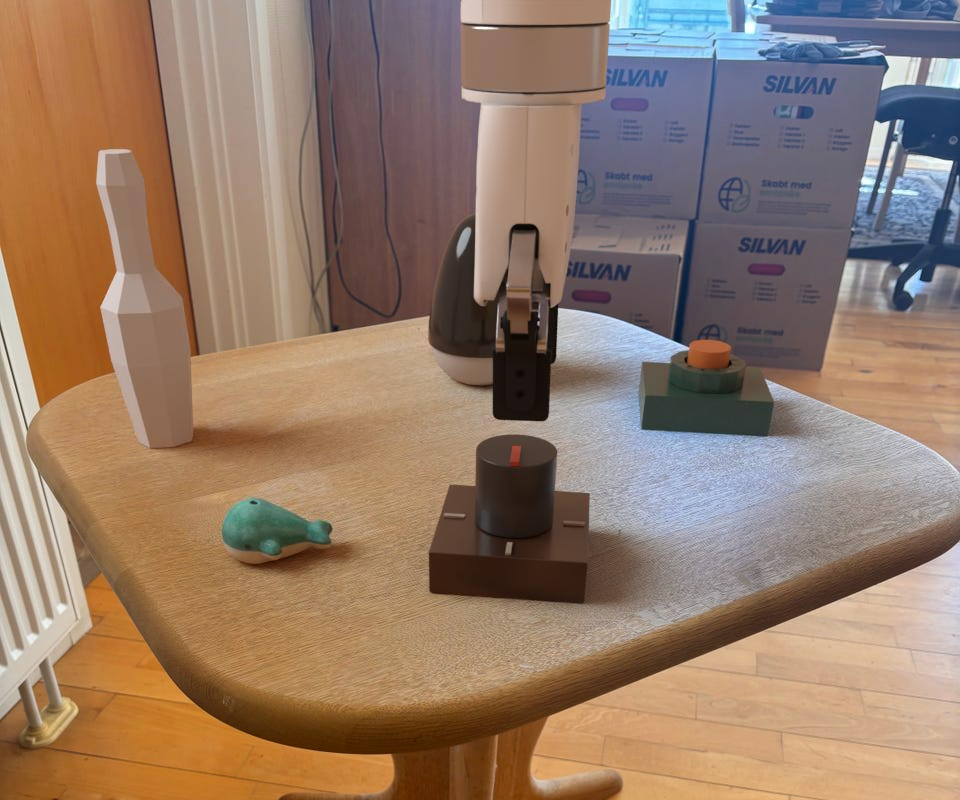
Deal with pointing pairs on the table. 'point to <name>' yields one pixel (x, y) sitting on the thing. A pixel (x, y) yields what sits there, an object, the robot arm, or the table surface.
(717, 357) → the orange push button
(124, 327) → the low poly bottle
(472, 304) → the pump dispenser
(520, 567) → the dial panel
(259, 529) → the whale figurine
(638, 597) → the table surface
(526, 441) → the dial
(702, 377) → the green button base
